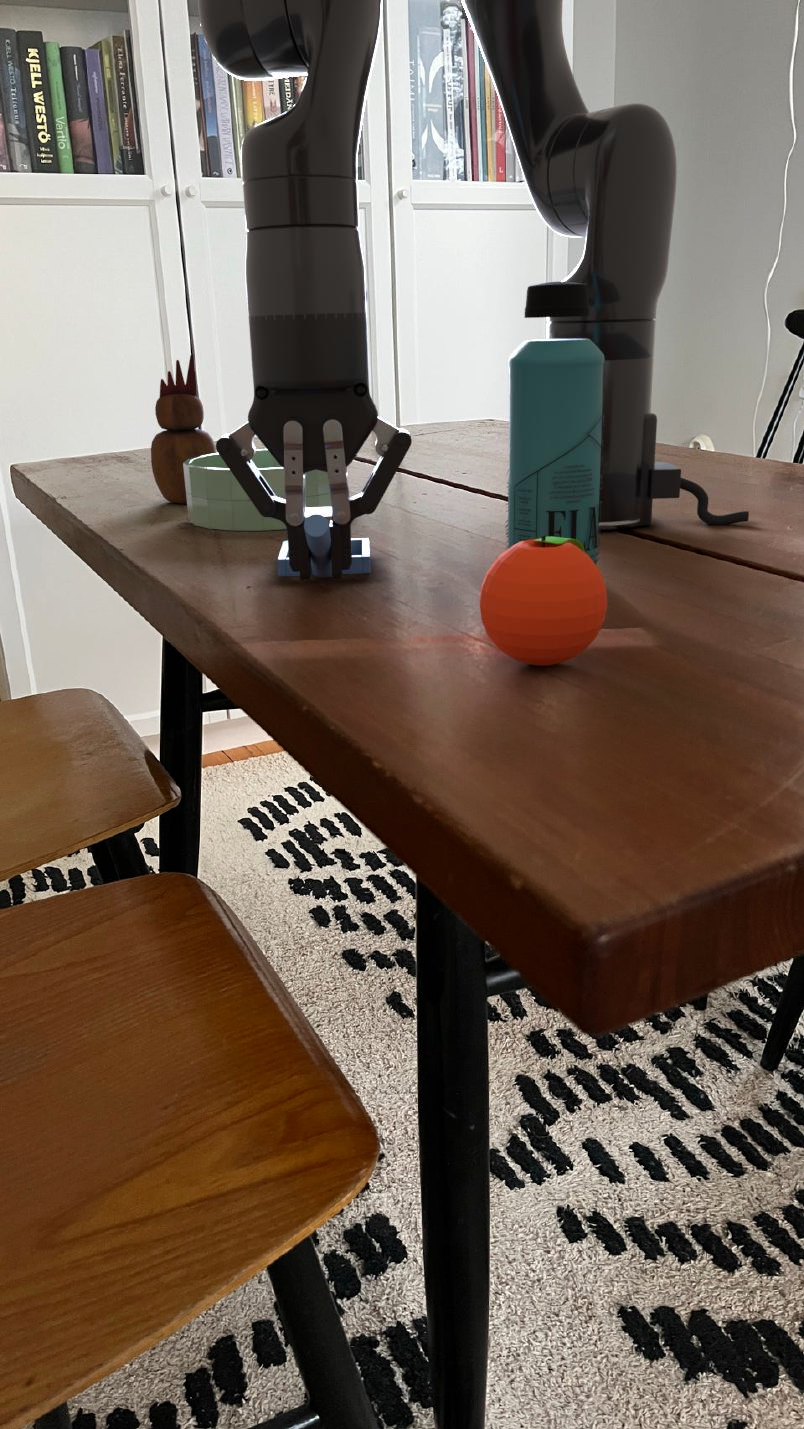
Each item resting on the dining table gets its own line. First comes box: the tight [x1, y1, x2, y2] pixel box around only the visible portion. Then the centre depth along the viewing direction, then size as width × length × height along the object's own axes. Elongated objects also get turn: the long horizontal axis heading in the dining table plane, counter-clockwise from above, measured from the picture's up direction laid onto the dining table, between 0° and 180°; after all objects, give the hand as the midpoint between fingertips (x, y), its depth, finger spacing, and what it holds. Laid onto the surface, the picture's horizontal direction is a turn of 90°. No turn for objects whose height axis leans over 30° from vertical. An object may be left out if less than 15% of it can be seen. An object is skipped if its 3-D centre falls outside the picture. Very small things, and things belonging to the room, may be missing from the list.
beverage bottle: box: [505, 280, 605, 566], centre depth 71 cm, size 6×7×20 cm
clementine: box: [478, 535, 609, 667], centre depth 58 cm, size 8×7×7 cm
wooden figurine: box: [150, 354, 217, 505], centre depth 112 cm, size 7×6×15 cm
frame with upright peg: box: [276, 514, 372, 579], centre depth 76 cm, size 16×7×6 cm, turn 2°
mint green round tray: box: [183, 448, 349, 532], centre depth 100 cm, size 15×15×6 cm
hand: (322, 575), depth 73 cm, fingers closed on frame with upright peg
